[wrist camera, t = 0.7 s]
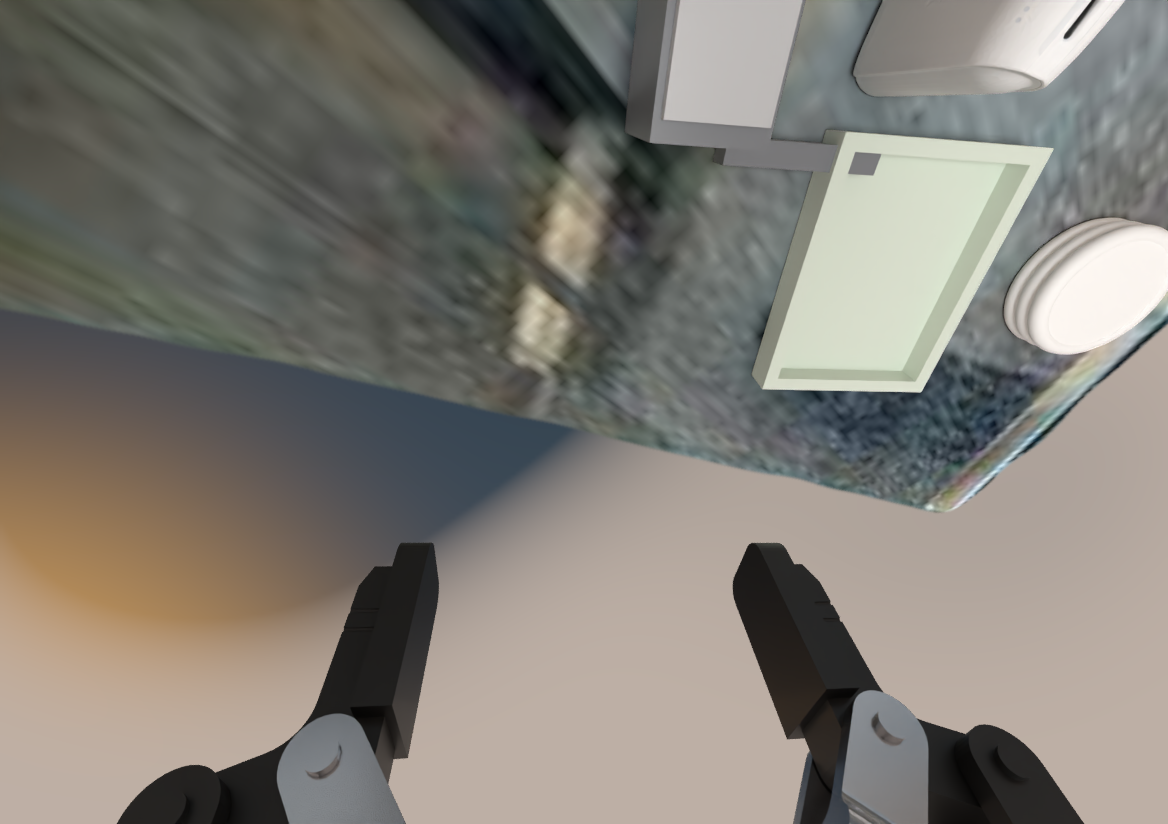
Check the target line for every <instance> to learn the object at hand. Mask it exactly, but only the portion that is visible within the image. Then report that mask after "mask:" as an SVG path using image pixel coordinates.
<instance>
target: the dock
mask: <svg viewBox="0 0 1168 824" xmlns="http://www.w3.org/2000/svg"><path fill="white" fill-rule="evenodd" d="M805 1H806V0H638V4H637V14H636V24H635V34H634V44H633V54H632V64H631V74H630V84H629V94H628V103H627V113H626V123H625V133H628V134H630V135H632V136H635V137H637V138H639V139H642V140H644V141H647V142H649V143H659V144H673V145H686V146H700V147H713V148H715V153H714V158H713V162H716V163H719V164H721V165H729V166H743V167H757V168H771V169H785V170H800V171H814V172H828V173H829V172H830V169H831V166H832V163H833V160H834V157H835V154H836V150H837V147H838V145H832V144H826V143H818V142H805V141H792V140H779V139H771V137H772V133H773V129H774V125H775V121H776V117H777V113H778V109H779V105H780V101H781V97H782V93H783V89H784V85H785V81H786V77H787V73H788V69H789V65H790V61H791V57H792V53H793V49H794V45H795V41H796V37H797V33H798V29H799V25H800V21H801V17H802V13H803V9H804V5H805ZM880 157H881V154H876V153H863V152H855V154H854V157H853V160H852V163H851V166H850V169H849V172H848V174H856V175H871V176H874V173H875V170H876V167H877V165H878V162H879V159H880Z"/></svg>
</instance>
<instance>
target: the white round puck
mask: <svg viewBox="0 0 1168 824" xmlns="http://www.w3.org/2000/svg"><path fill="white" fill-rule="evenodd" d="M1167 291H1168V231H1167V230H1165V229H1163V228H1161V227H1159V226H1155V225H1146V224H1143V223H1140V222H1136V221H1128V220H1126V219H1121V218H1100V219H1094V220H1090V221H1087V222H1084V223H1081V224H1078V225H1076V226H1074V227H1072V228H1070V229H1068V230H1066V231H1064V232H1063V233H1061V234H1059V235H1058V236H1056V237H1055V238H1053V239H1052V240H1051V241H1049V242H1048V243H1047V244H1045V245H1044V246H1043V247H1042V248H1041V249H1039V250H1038V251H1037V252H1036V253H1035V254H1034V255H1033V256H1032V257H1031V258H1030V259H1029V260H1028V261H1027V263H1026V264H1025V265H1024V266H1023V267H1022V269H1021V270H1020V271H1019V273H1018V274H1017V276H1016V277H1015V279H1014V281H1013V282H1012V284H1011V286H1010V288H1009V291H1008V293H1007V296H1006V299H1005V304H1004V319H1005V322H1006V325H1007V326H1008V328H1009V329H1010V331H1011V332H1012V333H1013V334H1014V335H1015V336H1017V337H1018V338H1020V339H1023V340H1026V341H1027V342H1029V343H1030V344H1032V345H1035V346H1038V347H1039V348H1041V349H1042V350H1044V351H1047V352H1050V353H1055V354H1077V353H1081V352H1085V351H1088V350H1091V349H1094V348H1097V347H1099V346H1102V345H1104V344H1106V343H1108V342H1110V341H1112V340H1114V339H1116V338H1118V337H1119V336H1121V335H1123V334H1124V333H1126V332H1127V331H1129V330H1130V329H1131V328H1133V327H1134V326H1135V325H1137V324H1138V323H1139V322H1140V321H1141V320H1143V319H1144V318H1145V317H1146V316H1147V315H1148V314H1149V313H1150V312H1151V311H1152V310H1153V309H1154V308H1155V307H1156V306H1157V305H1158V303H1159V302H1160V301H1161V300H1162V298H1163V297H1164V296H1165V294H1166V293H1167Z"/></svg>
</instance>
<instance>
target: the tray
mask: <svg viewBox="0 0 1168 824" xmlns="http://www.w3.org/2000/svg"><path fill="white" fill-rule="evenodd" d="M822 143H826V144H832V145H838V147H837V150H836V154H835V157H834V160H833V163H832V166H831V169H830V172H829V173H828V172H814V171H813V174H812V177H811V180H810V184H809V187H808V190H807V194H806V197H805V200H804V203H803V207H802V210H801V213H800V217H799V220H798V223H797V226H796V230H795V233H794V236H793V240H792V243H791V246H790V249H789V253H788V256H787V259H786V263H785V266H784V269H783V272H782V276H781V279H780V282H779V286H778V289H777V292H776V296H775V299H774V302H773V305H772V309H771V312H770V315H769V319H768V322H767V325H766V328H765V332H764V335H763V338H762V342H761V345H760V348H759V351H758V355H757V358H756V361H755V365H754V368H753V371H752V376H753V377H754V379H755V380H756V381H757V383H758V384H759V385H760V387H761V388H762V389H780V390H832V391H885V392H922V390H923V388H924V386H925V384H926V382H927V381H928V379H929V377H930V375H931V373H932V371H933V370H934V368H935V366H936V364H937V362H938V360H939V359H940V357H941V355H942V353H943V351H944V349H945V348H946V346H947V344H948V342H949V340H950V338H951V337H952V335H953V333H954V331H955V329H956V327H957V326H958V324H959V322H960V320H961V318H962V316H963V315H964V313H965V311H966V309H967V307H968V305H969V304H970V302H971V300H972V298H973V296H974V294H975V293H976V291H977V289H978V287H979V285H980V283H981V282H982V280H983V278H984V276H985V274H986V272H987V271H988V269H989V267H990V265H991V263H992V261H993V260H994V258H995V256H996V254H997V252H998V250H999V249H1000V247H1001V245H1002V243H1003V241H1004V239H1005V237H1006V236H1007V234H1008V232H1009V230H1010V228H1011V226H1012V225H1013V223H1014V221H1015V219H1016V217H1017V215H1018V214H1019V212H1020V210H1021V208H1022V206H1023V204H1024V203H1025V201H1026V199H1027V197H1028V195H1029V193H1030V192H1031V190H1032V188H1033V186H1034V184H1035V182H1036V181H1037V179H1038V177H1039V175H1040V173H1041V171H1042V170H1043V168H1044V166H1045V164H1046V162H1047V160H1048V159H1049V157H1050V155H1051V153H1052V151H1053V149H1054V148H1044V147H1035V146H1025V145H1013V144H1001V143H988V142H976V141H963V140H951V139H939V138H926V137H914V136H901V135H889V134H877V133H864V132H852V131H839V130H827V129H826V131H825V134H824V138H823V141H822ZM855 152H863V153H876V154H881V157H880V159H879V162H878V165H877V167H876V170H875V173H874V176H871V175H856V174H848V172H849V169H850V166H851V163H852V160H853V157H854V154H855Z"/></svg>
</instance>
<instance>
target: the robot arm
mask: <svg viewBox="0 0 1168 824" xmlns="http://www.w3.org/2000/svg"><path fill="white" fill-rule="evenodd" d="M438 594H439V580H438V572H437V565H436V557H435V550H434V544H433V543H401V544H400V545H399V547H398V549H397V552H396V556H395V559H394V562H393V566H391V567H390V566H387V567H374V568H373V570H372V571H371V572H370V573H369V574H368V576H367V577H366V578H365V579H364V580H363V582H362V583H361V584H360V585H359V587H358V590H357V593H356V595H355V598H354V601H353V604H352V606H351V611H350V613H349V615H348V617H347V620H346V623H345V626H344V631H343V632H342V634H341V637H340V640H339V643H338V645H337V648H336V651H335V654H334V657H333V659H332V662H331V665H330V668H329V671H328V673H327V676H326V679H325V682H324V685H323V688H322V690H321V693H320V696H319V699H318V701H317V704H316V706H315V709H314V710H313V712H312V714H311V716H310V717H309V719H308V720H307V721H306V723H305V724H304V725H303V727H302V728H301V729H300V730H299V731H298V732H297V733H296V734H295V735H294V736H293V737H291V738H290V739H289V740H288V741H286V742H285V743H284V744H282V745H281V746H279V747H277V748H276V749H274V750H272V751H270V752H267V753H265V754H263V755H260V756H258V757H255V758H252V759H250V760H247V761H245V762H242V763H239V764H237V765H234V766H232V767H229V768H227V769H224V770H221V771H219V772H216V773H215V772H214V771H213V770H212V769H210V768H208V767H205V766H201V765H189V766H184V767H181V768H178V769H175V770H173V771H171V772H169V773H166V774H164V775H163V776H162V777H160V778H158V779H157V780H155V781H154V782H153V783H151V784H150V785H149V786H147V787H146V788H145V789H144V790H143V791H142V792H141V793H140V794H139V795H138V796H137V797H136V798H135V799H134V800H133V801H132V802H131V803H130V805H129V806H128V807H127V809H126V810H125V812H124V813H123V814H122V816H121V818H120V819H119V821H118V823H117V824H406V823H405V821H404V818H403V816H402V814H401V812H400V810H399V808H398V805H397V803H396V801H395V799H394V797H393V794H392V792H391V790H390V788H389V785H388V782H389V777H390V773H391V768H392V763H393V759H400V758H408V754H409V749H410V744H411V738H412V733H413V728H414V723H415V718H416V713H417V707H418V702H419V696H420V692H421V687H422V681H423V676H424V671H425V666H426V661H427V656H428V651H429V645H430V640H431V635H432V630H433V624H434V619H435V614H436V609H437V603H438ZM733 595H734V600H735V603H736V606H737V609H738V611H739V614H740V616H741V619H742V622H743V624H744V627H745V630H746V632H747V635H748V637H749V640H750V643H751V645H752V648H753V651H754V653H755V656H756V659H757V661H758V664H759V666H760V669H761V672H762V674H763V677H764V680H765V682H766V685H767V687H768V690H769V693H770V695H771V698H772V700H773V703H774V706H775V708H776V711H777V714H778V716H779V719H780V722H781V724H782V727H783V729H784V732H785V735H786V737H787V739H800V738H805V740H806V742H807V745H808V747H809V750H810V751H809V753H808V754H807V758H806V762H805V767H804V772H803V777H802V782H801V787H800V792H799V797H798V802H797V807H796V811H795V817H794V822H793V824H1084V823H1083V821H1082V820H1081V819H1080V817H1079V816H1078V814H1077V813H1076V811H1075V810H1074V809H1073V807H1072V806H1071V804H1070V803H1069V801H1068V800H1067V798H1066V797H1065V796H1064V794H1063V793H1062V791H1061V790H1060V788H1059V787H1058V786H1057V784H1056V783H1055V781H1054V780H1053V778H1052V777H1051V775H1050V774H1049V773H1048V771H1047V770H1046V768H1045V767H1044V765H1043V764H1042V763H1041V761H1040V760H1039V759H1038V757H1037V756H1036V755H1035V754H1034V753H1033V752H1032V751H1031V750H1030V749H1029V748H1028V747H1027V746H1026V745H1025V744H1024V743H1022V742H1021V741H1020V740H1019V739H1017V738H1016V737H1015V736H1013V735H1012V734H1010V733H1008V732H1006V731H1005V730H1003V729H1000V728H998V727H995V726H991V725H978V726H975V727H974V728H973V729H971V730H970V731H969V732H968V733H966V734H963V733H960V732H957V731H953V730H950V729H947V728H944V727H940V726H937V725H934V724H931V723H928V722H925V721H922V720H919V719H917V718H916V717H915V716H914V715H913V714H912V713H911V711H910V710H909V709H908V708H907V707H906V706H905V705H903V704H902V703H901V702H900V701H898V700H897V699H895V698H894V697H892V696H890V695H888V694H885V693H884V692H883V691H882V690H881V688H880V687H879V685H878V684H877V682H876V681H875V679H874V677H873V675H872V674H871V672H870V670H869V668H868V667H867V665H866V663H865V661H864V660H863V658H862V656H861V655H860V652H859V651H858V649H857V647H856V645H855V644H854V642H853V640H852V638H851V637H850V635H849V633H848V631H847V629H846V628H845V626H844V624H843V623H842V622H840V619H839V618H840V617H839V615H838V614H837V612H836V610H835V608H834V607H833V605H831V604H830V600H829V598H828V596H827V594H826V592H825V591H824V589H823V587H822V585H821V584H820V582H819V581H818V580H817V579H816V578H815V577H814V576H813V575H812V574H811V573H810V572H809V571H808V570H807V569H806V568H805V567H804V566H803V565H802V564H794V563H793V561H792V559H791V558H790V556H789V554H788V552H787V550H786V548H785V547H784V546H783V545H782V544H780V543H751V544H749V545H748V547H747V549H746V552H745V554H744V556H743V559H742V561H741V563H740V565H739V568H738V570H737V572H736V574H735V577H734V580H733Z"/></svg>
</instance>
